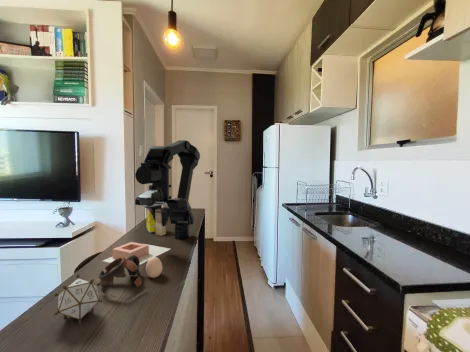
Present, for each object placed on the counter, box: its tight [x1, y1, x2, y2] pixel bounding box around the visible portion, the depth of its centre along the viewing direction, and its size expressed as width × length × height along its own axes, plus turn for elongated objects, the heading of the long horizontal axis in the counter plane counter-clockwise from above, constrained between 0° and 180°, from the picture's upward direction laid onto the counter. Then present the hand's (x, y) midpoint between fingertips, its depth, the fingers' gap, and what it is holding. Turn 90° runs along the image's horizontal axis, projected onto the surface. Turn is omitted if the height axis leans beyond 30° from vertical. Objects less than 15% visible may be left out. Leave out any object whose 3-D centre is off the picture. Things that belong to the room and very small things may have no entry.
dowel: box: [155, 209, 167, 236], centre depth 87 cm, size 3×3×9 cm
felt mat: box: [102, 243, 171, 266], centre depth 84 cm, size 18×13×1 cm
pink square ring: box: [111, 241, 150, 259], centre depth 82 cm, size 8×8×3 cm
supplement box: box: [145, 208, 156, 234], centre depth 112 cm, size 6×6×11 cm
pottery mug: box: [97, 255, 144, 288], centre depth 65 cm, size 12×10×8 cm
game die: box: [52, 273, 104, 325], centre depth 51 cm, size 9×8×10 cm
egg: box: [145, 256, 163, 279], centre depth 68 cm, size 4×4×6 cm
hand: (160, 225), depth 87 cm, fingers closed on dowel, 2 cm apart
